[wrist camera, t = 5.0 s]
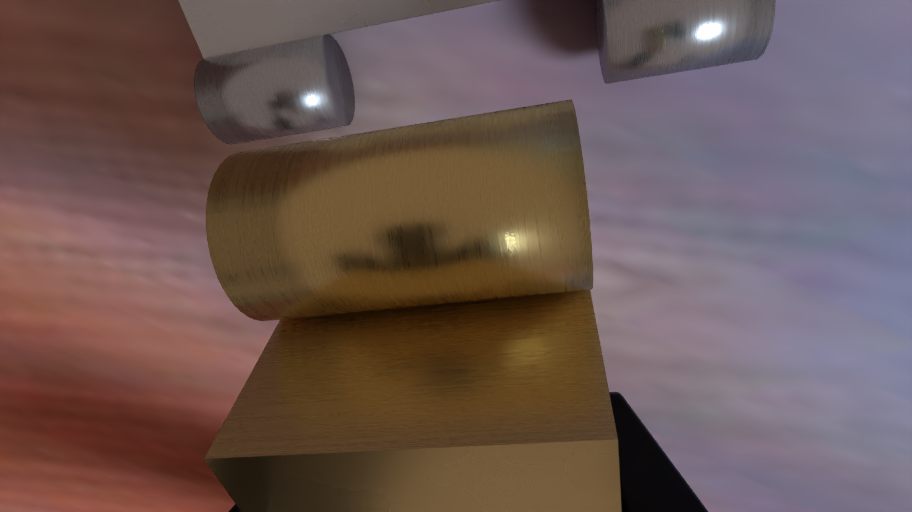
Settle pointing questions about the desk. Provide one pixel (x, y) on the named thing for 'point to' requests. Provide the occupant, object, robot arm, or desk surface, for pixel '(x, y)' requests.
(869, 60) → the desk surface
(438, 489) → the brass leaf
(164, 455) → the desk surface
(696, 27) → the steel leaf
